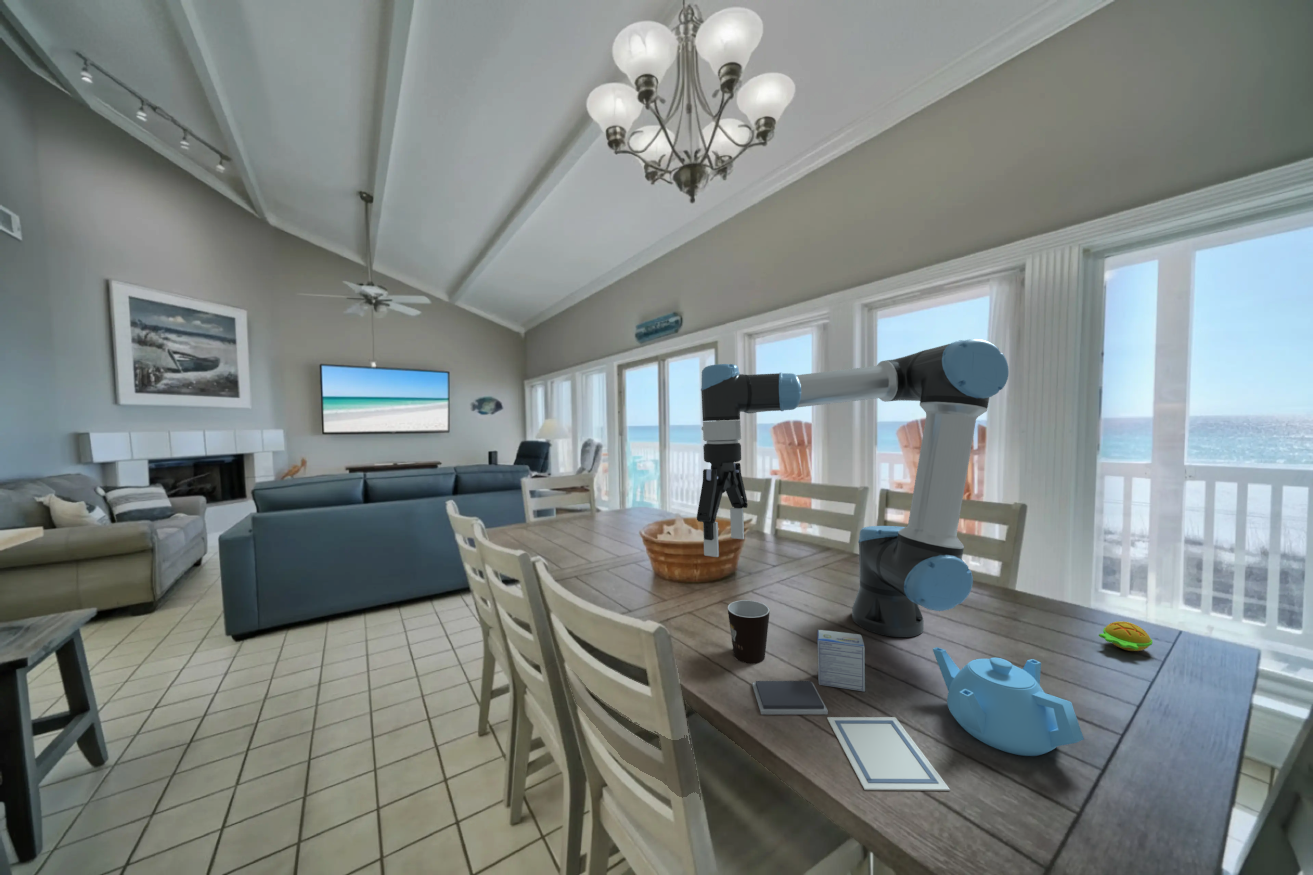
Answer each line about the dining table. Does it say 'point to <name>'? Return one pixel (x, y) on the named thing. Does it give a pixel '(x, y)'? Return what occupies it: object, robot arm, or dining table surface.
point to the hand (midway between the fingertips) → (725, 546)
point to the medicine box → (841, 660)
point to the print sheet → (885, 754)
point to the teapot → (1007, 705)
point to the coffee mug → (749, 630)
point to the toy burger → (1126, 636)
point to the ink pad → (788, 697)
